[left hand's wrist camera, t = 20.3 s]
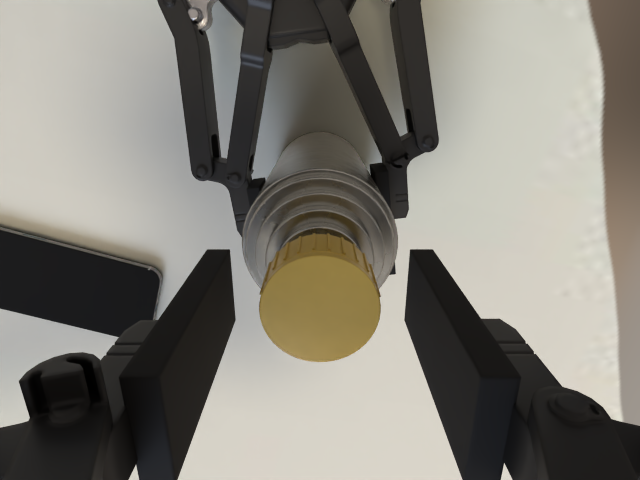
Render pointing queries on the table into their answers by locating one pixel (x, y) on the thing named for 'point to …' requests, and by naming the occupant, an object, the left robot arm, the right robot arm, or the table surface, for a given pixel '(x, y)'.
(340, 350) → the cap
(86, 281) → the smartphone
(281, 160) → the bottle
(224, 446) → the table surface
